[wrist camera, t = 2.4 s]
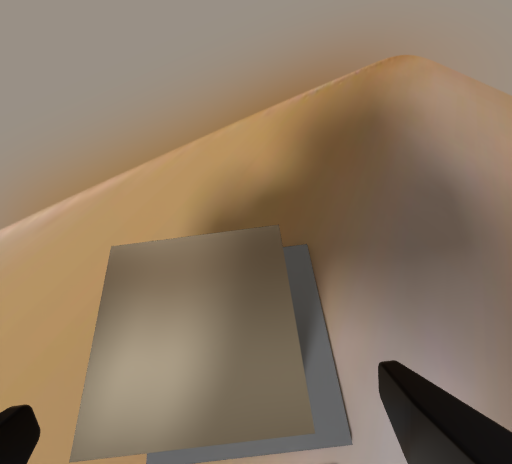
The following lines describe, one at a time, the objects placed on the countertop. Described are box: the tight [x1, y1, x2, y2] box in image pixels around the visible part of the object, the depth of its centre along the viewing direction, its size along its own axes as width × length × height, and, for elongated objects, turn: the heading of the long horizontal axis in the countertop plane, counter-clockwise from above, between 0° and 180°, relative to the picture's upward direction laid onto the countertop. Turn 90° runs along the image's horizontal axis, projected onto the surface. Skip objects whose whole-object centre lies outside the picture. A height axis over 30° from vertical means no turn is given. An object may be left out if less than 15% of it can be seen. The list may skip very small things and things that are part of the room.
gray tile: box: [146, 244, 353, 464], centre depth 16 cm, size 11×10×1 cm
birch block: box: [69, 225, 315, 462], centre depth 11 cm, size 5×5×10 cm
